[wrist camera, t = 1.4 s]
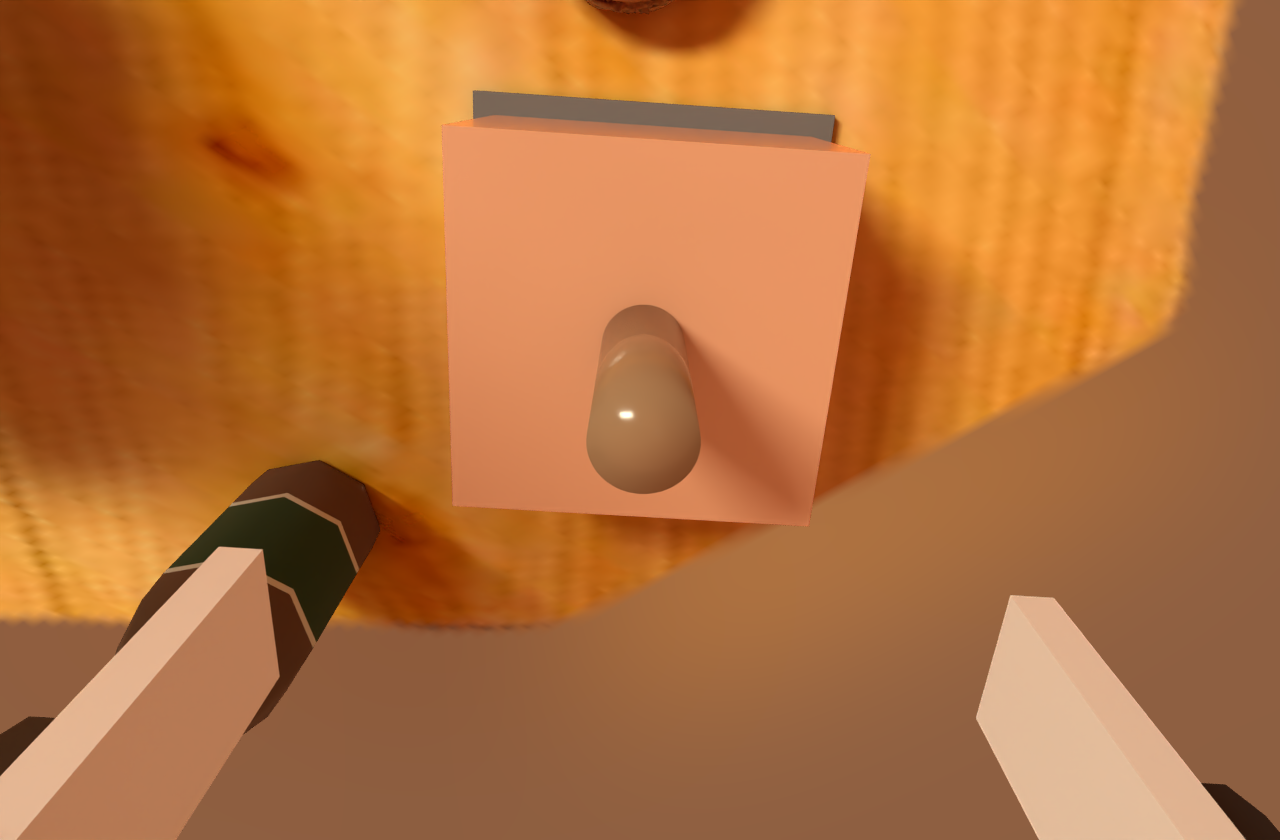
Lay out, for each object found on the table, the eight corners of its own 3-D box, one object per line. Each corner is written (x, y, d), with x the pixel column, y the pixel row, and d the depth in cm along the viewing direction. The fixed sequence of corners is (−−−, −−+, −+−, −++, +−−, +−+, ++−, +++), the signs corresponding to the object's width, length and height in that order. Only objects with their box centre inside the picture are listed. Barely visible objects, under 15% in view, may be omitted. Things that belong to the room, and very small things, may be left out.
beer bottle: (220, 498, 46) (-167, 876, 24) (321, 430, 45) (5, 767, 22) (313, 593, 49) (38, 1015, 27) (412, 531, 47) (206, 926, 25)
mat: (479, 422, 44) (477, 426, 44) (475, 90, 38) (472, 90, 38) (785, 440, 45) (786, 444, 44) (832, 115, 38) (835, 115, 38)
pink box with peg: (495, 410, 44) (388, 647, 25) (494, 114, 38) (353, 141, 19) (771, 426, 44) (864, 673, 25) (810, 136, 38) (968, 182, 20)
